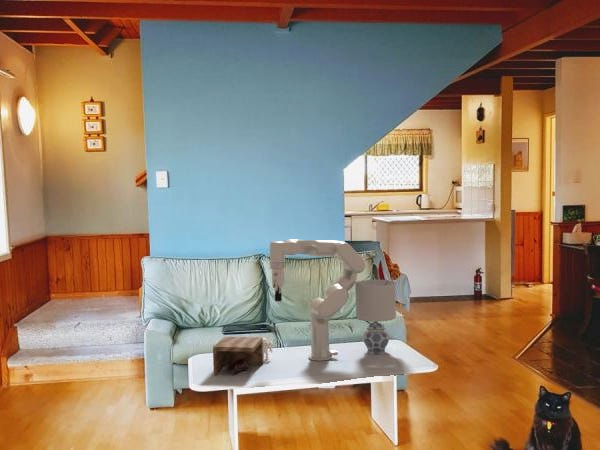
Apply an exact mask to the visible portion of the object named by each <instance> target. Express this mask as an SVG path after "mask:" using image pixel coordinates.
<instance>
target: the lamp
mask: <svg viewBox="0 0 600 450" xmlns="http://www.w3.org/2000/svg"><path fill="white" fill-rule="evenodd" d="M354 286H355V287H354V288H355V296H354V297H355V318H356V319H357V320H360V321H363V322H364V321H365V322H371V323H369V324H368V327H366V331H365V332H364V333H363V336H362V339H363V343H364V345H365V347H366V350H367V351H366V352H367V354H370V355H383V354H385V353H386V348H387V346H388V344H389V342H390V335H389V333H388V332H387V331H386V328H385V326H384V325H383V324H382V323H381V322H388V321H392V320H396V317H397V316H396V314H397V312H396V311H397V310H396V309H397V308H396V307H397V306H396V305H397V303H396V300H397V298H396V294H397V293H396V282H395V281H394V280H388V279H364V280H358V281H357V280H356V282H355V284H354Z"/></svg>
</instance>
